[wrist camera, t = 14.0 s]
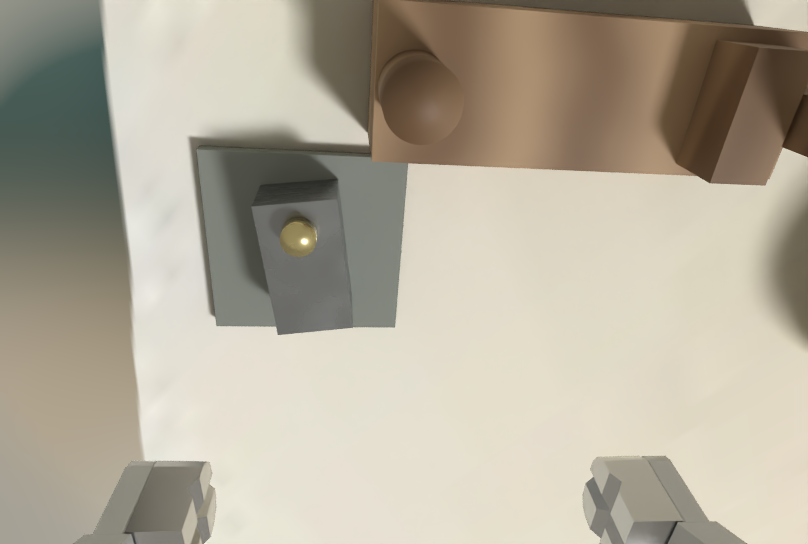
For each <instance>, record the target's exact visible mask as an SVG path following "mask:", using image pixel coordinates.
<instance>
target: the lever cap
mask: <svg viewBox="0 0 808 544" xmlns="http://www.w3.org/2000/svg"><path fill="white" fill-rule="evenodd" d="M251 208H252V212H253V217H254V222H255V227H256V232H257V236H258V241H259V246H260V251H261V256H262V260H263V265H264V270H265V275H266V280H267V284H268V289H269V294H270V299H271V304H272V308H273V313H274V318H275V323H276V328H277V332H278V335H282V334H292V333H303V332H313V331H323V330H333V329H343V328H353V305H352V291H351V283H350V274H349V266H348V258H347V249H346V241H345V232H344V224H343V216H342V207H341V199H340V191H339V182H338V179H326V180H314V181H302V182H290V183H278V184H266V185H260V187H259V189H258V192H257V194H256V196H255V199H254V201H253V204H252V206H251Z"/></svg>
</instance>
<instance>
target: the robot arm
mask: <svg viewBox="0 0 808 544" xmlns="http://www.w3.org/2000/svg"><path fill="white" fill-rule="evenodd" d="M590 470H591V472H592V474H593V476H594V477H593V478H592V479H590V480H589V481H588V482H587V483H586V484H585V488H584V491H583V509H584V513H585V518H586V520H587V523H588V525H589V528H590V529H591V530H592V531H593V532H594V533H595V534H597V535H598V536H599V537H600V538H601V540H600V543H599V544H747V543H746V542H744V541H743V540H741V539H740V538H739V537H737V536H736V535H734V534H733V533H732V532H730V531H729V530H727V529H726V528H725V527H723V526H722V525H720V524H719V523H718V522H713V521H709V520H708V518H707V517H706V515H705V514H704V512H703V511H702V509H701V507H700V506H699V504H698V503H697V501H696V500H695V498H694V497H693V495H692V493H691V492H690V490H689V489H688V487H687V486H686V484H685V482H684V481H683V479H682V478H681V476H680V475H679V473H678V471H677V470H676V468H675V467H674V465H673V464H672V462H671V461H670V459H668V458H667V457H666V456H642V457H640V456H616V457H597V458H596V459H594V460H593V463H592V465H591V468H590ZM211 476H212V470H211V465H210V462H199V461H131V462H130V464H129V465H128V466H127V467H126V468H125V469H124V471H123V473H122V476H121V478H120V480H119V482H118V484H117V486H116V488H115V490H114V492H113V494H112V496H111V498H110V500H109V502H108V504H107V506H106V508H105V510H104V512H103V514H102V516H101V518H100V520H99V522H98V524H97V526H96V528H95V530H94V532H93V534H87V535H83V536H82V537H81V538H80V539H79V540H77V541H76V542H75V543H73V544H204V543H205V542H206V541H207V540H208V539H209V538H210V537H211V533H212V529H213V526H214V520H215V513H216V493H215V488H213V487H212V486H211V485H210V484H209V483H210V479H211Z"/></svg>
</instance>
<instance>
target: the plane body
mask: <svg viewBox="0 0 808 544" xmlns="http://www.w3.org/2000/svg"><path fill="white" fill-rule="evenodd" d="M368 138H369V145H370V153H371V160H372V162H393V163H416V164H439V165H461V166H484V167H507V168H530V169H552V170H575V171H598V172H621V173H643V174H666V175H689V176H698V177H700V178H702V179H704V180H705V181H707V182H709V183H718V184H741V185H766V182H767V180H768V179H770V177H771V174H772V172H773V169H774V167H775V165H776V162H777V160H778V158H779V155H780V153H781V150H782V148H786V149H789V150H791V151H794V152H796V153H799V154H801V155H804V156H806V157H808V32H803V31H795V30H787V29H779V28H771V27H763V26H755V25H742V24H730V23H717V22H705V21H693V20H680V19H668V18H655V17H643V16H631V15H618V14H606V13H594V12H581V11H569V10H556V9H544V8H532V7H519V6H507V5H495V4H482V3H470V2H457V1H445V0H373V23H372V47H371V71H370V96H369V120H368Z"/></svg>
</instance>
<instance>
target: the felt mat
mask: <svg viewBox="0 0 808 544" xmlns="http://www.w3.org/2000/svg"><path fill="white" fill-rule="evenodd" d="M196 151H197V160H198V168H199V177H200V186H201V195H202V203H203V212H204V221H205V229H206V238H207V247H208V256H209V264H210V273H211V282H212V291H213V299H214V308H215V317H216V326H275V327H276V323H275V318H274V313H273V308H272V304H271V299H270V294H269V289H268V284H267V280H266V275H265V270H264V265H263V260H262V256H261V251H260V246H259V241H258V236H257V232H256V227H255V222H254V217H253V212H252V208H251V206H252V204H253V201H254V199H255V196H256V194H257V192H258V189H259V187H260V185H266V184H278V183H290V182H302V181H314V180H326V179H338V182H339V191H340V199H341V207H342V216H343V224H344V232H345V241H346V249H347V258H348V266H349V274H350V283H351V291H352V305H353V327H395V320H396V308H397V295H398V283H399V270H400V258H401V245H402V232H403V220H404V207H405V195H406V182H407V170H408V163H393V162H372V160H371V154H365V153H343V152H321V151H299V150H278V149H256V148H234V147H212V146H199V147H198V148H197V149H196Z"/></svg>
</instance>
